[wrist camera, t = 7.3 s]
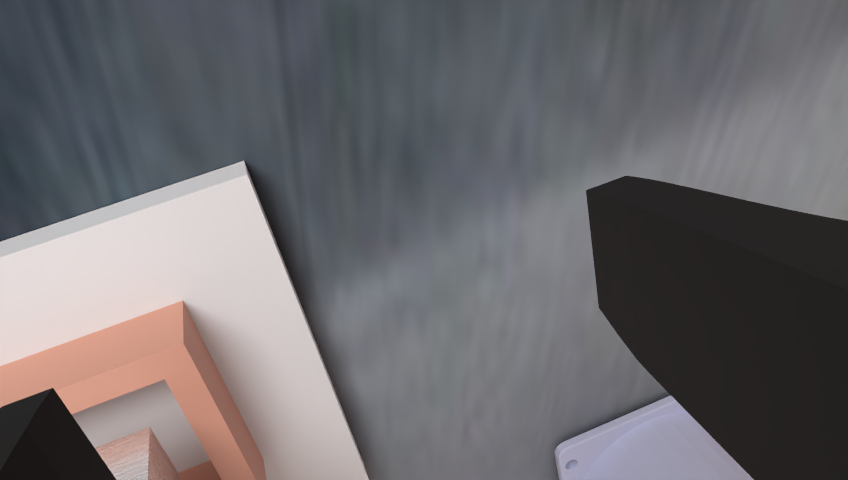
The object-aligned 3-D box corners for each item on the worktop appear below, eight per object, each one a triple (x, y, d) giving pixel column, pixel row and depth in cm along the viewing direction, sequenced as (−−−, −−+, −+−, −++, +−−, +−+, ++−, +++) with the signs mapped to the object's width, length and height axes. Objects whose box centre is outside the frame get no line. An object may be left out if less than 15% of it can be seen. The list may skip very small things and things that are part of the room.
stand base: (362, 460, 24) (389, 543, 21) (17, 604, 23) (-6, 716, 20) (244, 160, 18) (257, 217, 15) (-246, 323, 16) (-341, 425, 13)
